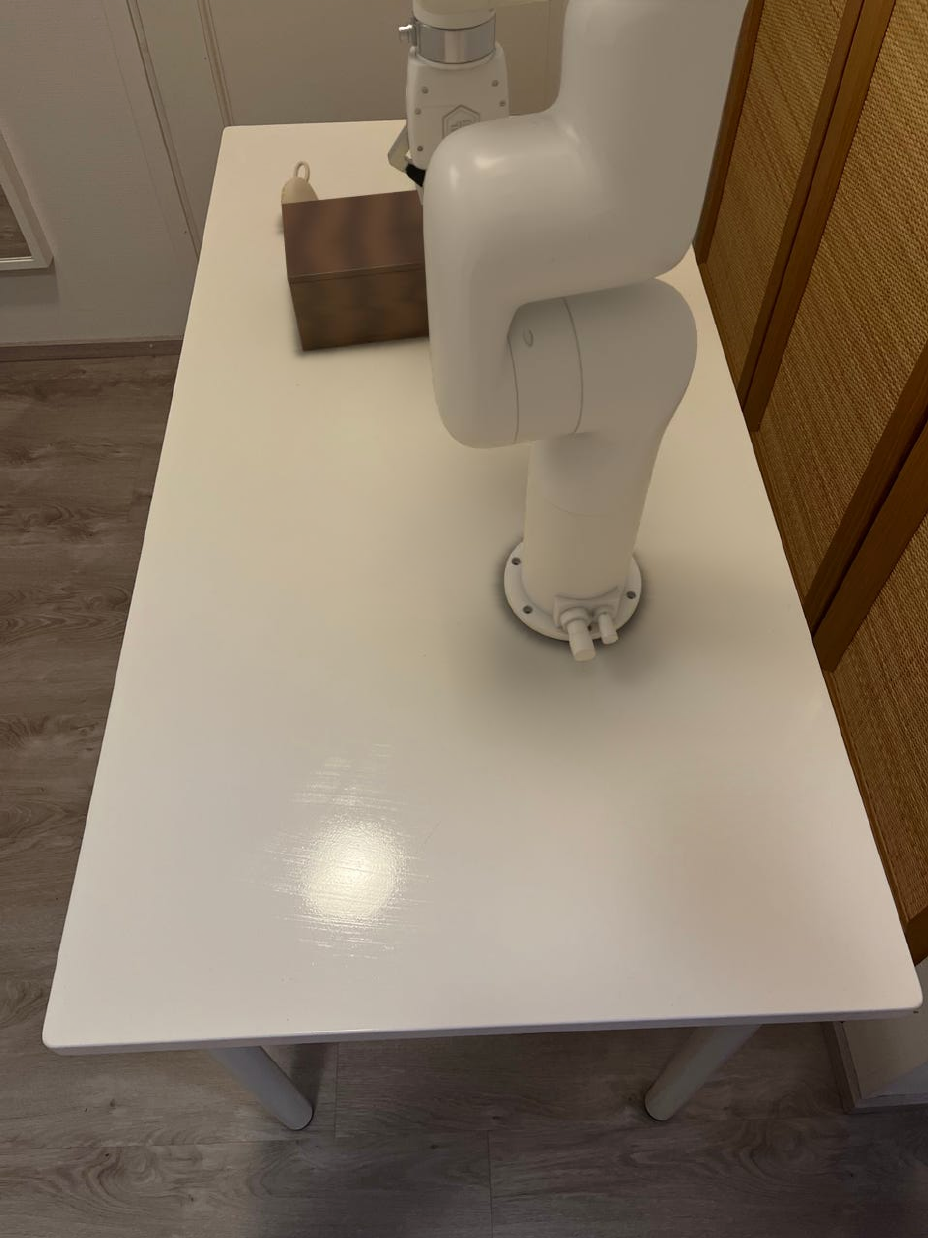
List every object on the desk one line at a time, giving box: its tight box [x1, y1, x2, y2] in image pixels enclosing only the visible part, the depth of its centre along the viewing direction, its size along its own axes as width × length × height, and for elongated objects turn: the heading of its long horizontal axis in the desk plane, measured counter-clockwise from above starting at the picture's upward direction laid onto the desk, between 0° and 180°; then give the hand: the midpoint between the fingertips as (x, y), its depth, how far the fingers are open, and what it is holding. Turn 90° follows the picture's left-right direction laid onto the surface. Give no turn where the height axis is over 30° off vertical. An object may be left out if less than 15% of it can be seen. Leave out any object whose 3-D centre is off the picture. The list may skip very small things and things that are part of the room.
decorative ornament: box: [280, 160, 319, 207], centre depth 111 cm, size 4×8×5 cm, turn 166°
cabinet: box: [281, 189, 430, 351], centre depth 100 cm, size 16×14×10 cm
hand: (459, 216), depth 96 cm, fingers closed on figurine, 4 cm apart
